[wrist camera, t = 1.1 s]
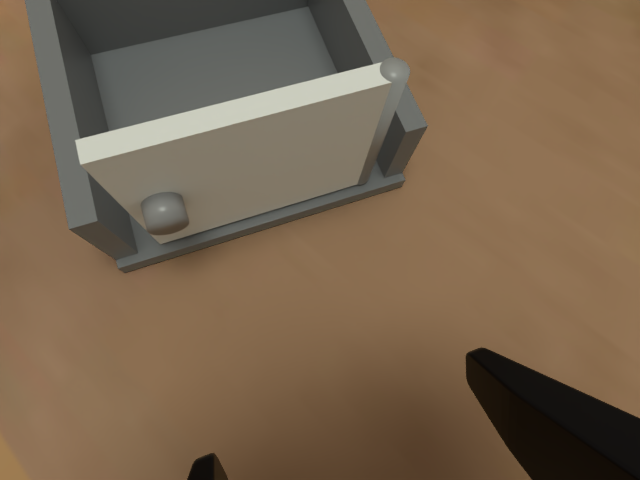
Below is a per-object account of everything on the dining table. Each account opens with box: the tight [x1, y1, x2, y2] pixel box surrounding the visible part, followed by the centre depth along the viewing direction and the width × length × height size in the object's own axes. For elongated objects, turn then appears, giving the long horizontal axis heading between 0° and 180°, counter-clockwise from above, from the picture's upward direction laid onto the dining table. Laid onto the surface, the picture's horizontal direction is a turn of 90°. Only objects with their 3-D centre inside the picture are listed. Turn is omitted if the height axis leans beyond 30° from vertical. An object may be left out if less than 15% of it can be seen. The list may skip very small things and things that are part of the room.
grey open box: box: [25, 0, 428, 273], centre depth 24 cm, size 18×17×7 cm
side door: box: [75, 58, 410, 244], centre depth 19 cm, size 13×2×9 cm, turn 110°
